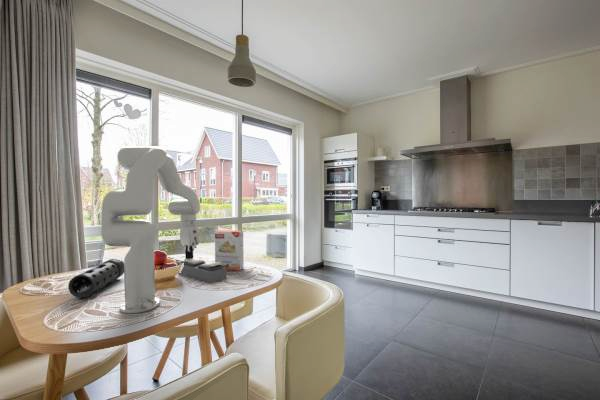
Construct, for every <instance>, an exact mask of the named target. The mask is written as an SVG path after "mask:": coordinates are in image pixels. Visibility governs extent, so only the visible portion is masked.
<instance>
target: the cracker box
mask: <svg viewBox="0 0 600 400" xmlns="http://www.w3.org/2000/svg"><path fill="white" fill-rule="evenodd" d="M214 260H215V261H214V262H220V264H219V265H223V267H225V268H226V271H230V270H235V272H240V271H242V270H243V269H244V230H228V229H225V230H224V229H223V230H222V229H219V230H216V231H214ZM241 269H242V270H241Z"/></svg>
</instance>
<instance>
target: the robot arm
mask: <svg viewBox="0 0 600 400" xmlns="http://www.w3.org/2000/svg"><path fill="white" fill-rule="evenodd" d="M116 157H117V162H118V163H119V165H120V167H122V168H123V169H126V170H128V172H127V175H126V181H125V182H126V183H125V189H117V190H116V189H114V190H110V191H109V192H107V193H106V194H105V196H104V197H103V199H102V204H101V222H100V223H101V225H100V226H101V228H100V229H101V230H100V232H101V239H102V242H103V243H104V244H105V245H106V246H109V247H129V250H128V252H127V253H126V255H125V257H124V260H123V262H124V273H123V275H124V277H123V278H124V280H123V281H124V303H122V304H121V305H120V306H119V311H120V312H121V313H124V314H139V313H143V312H147V311H150V310H153V309H156V308H157V307H158V306H160V303H161V301H160V298H158V297H156V289H155V288H156V285H155V284H156V282H155V281H156V280H155V279H156V278H155V247H156V245H155V244H156V241H157V235H158V230H157V226H156V224H155V223H154V222H153V221H150V220H146V219H124V217H143V216H147V215H149V214H150V213H151V212H152V210H153V204H154V203H153V202H154V201H153V198H154V196H153V195H154V178H155V175H156V176H157V178H158V182H159V183H160V185H161V188H162V190H164V191H165V192H168V193H170V194H172V195H175V196H179V197H181V198H183V199H174V200H171V201H170V202H169V203H168V206H167V209H168V212H169V213H170V214H171V215H174V216H180V230H179V231H180V233H179V238H180V239H179V241H180V244H181V246H182V247H183V248H184V254H185V256H184V257H185V258H184V259H190V258H193V257H194V250H195V249H197V245H199V243H200V240H199V239H200V238H199V230H198V226H197V215H198V214H199V213H200V210H201V203H200V201H199V197H198V195H197V193H196V191H194V189H193V188H192V187H190V186H189V185H187V184H186V183H185V182H183V181H182V179H181V177H180V174H179V172H178V169H177V167H176V164H175V160H174V158H173V157H172V156H171V155H169V154H167V151H166V149H165V148H163V147H160V146H124V147H122V148H120V149H119V151H118V152H117V156H116Z"/></svg>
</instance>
